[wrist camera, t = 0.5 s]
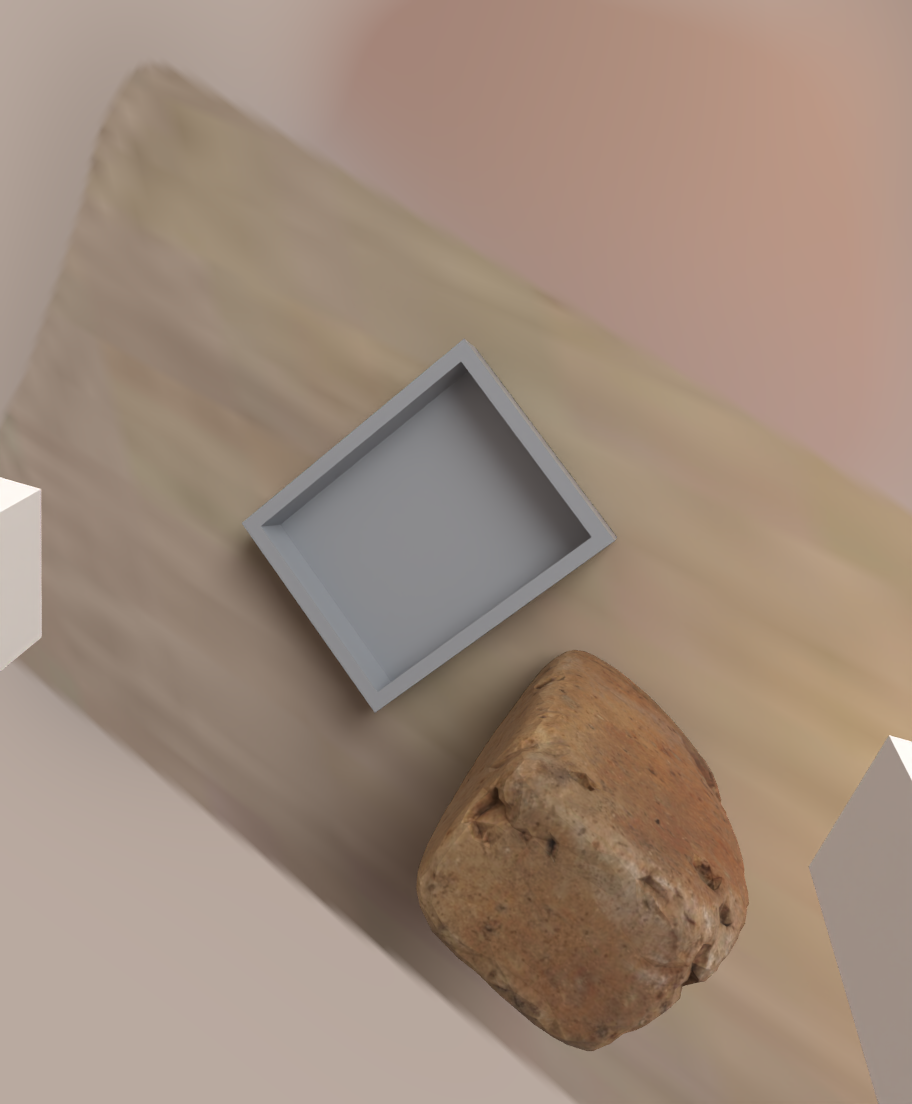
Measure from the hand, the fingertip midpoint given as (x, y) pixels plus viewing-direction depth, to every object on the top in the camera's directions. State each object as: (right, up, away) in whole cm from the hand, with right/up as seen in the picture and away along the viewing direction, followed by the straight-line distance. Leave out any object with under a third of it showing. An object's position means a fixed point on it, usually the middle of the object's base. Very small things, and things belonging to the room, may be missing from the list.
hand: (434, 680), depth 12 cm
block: (+9, -8, +31) cm, 33 cm away
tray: (-1, +3, +32) cm, 33 cm away
